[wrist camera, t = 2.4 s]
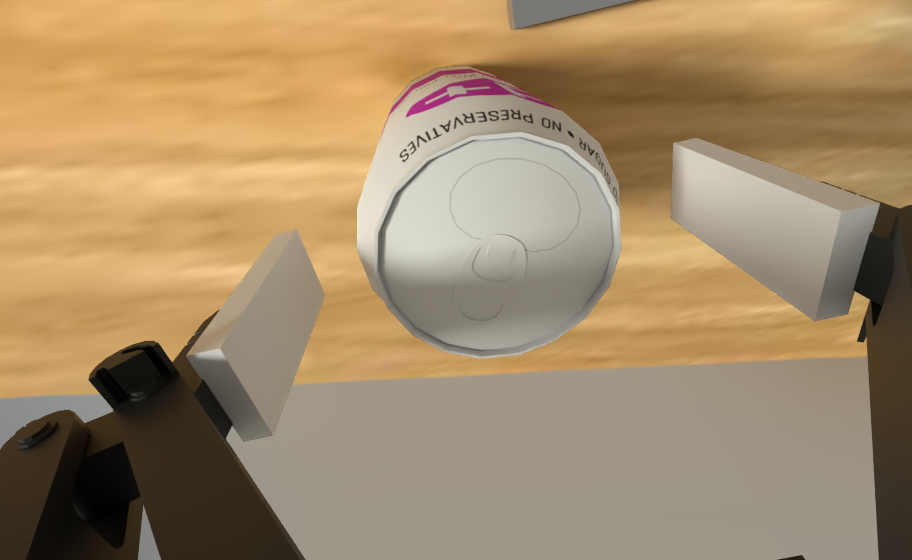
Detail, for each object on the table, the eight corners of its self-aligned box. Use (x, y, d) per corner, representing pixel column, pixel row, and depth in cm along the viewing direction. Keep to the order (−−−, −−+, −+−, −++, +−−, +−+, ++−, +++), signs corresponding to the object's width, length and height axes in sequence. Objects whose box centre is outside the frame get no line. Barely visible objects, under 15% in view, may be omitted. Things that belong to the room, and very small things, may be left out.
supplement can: (400, 44, 22) (381, 58, 9) (546, 91, 24) (700, 158, 11) (370, 191, 26) (327, 348, 13) (499, 223, 28) (573, 389, 15)
